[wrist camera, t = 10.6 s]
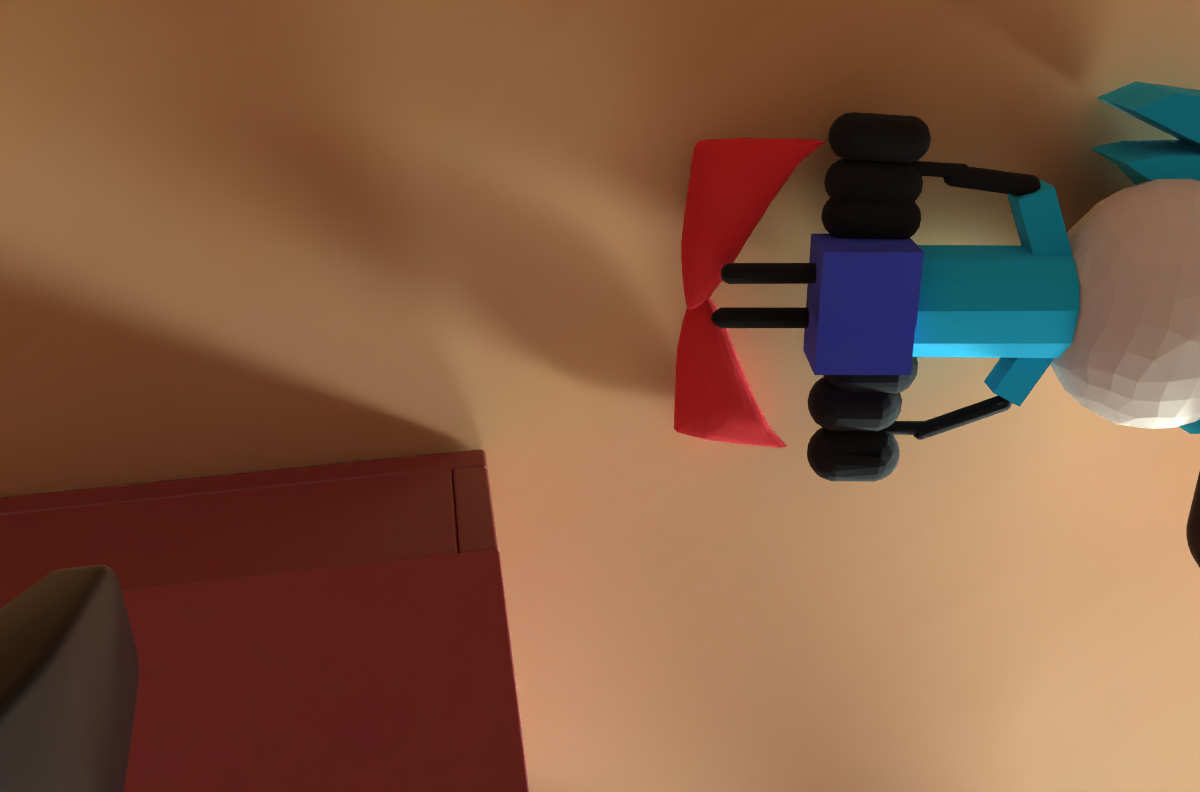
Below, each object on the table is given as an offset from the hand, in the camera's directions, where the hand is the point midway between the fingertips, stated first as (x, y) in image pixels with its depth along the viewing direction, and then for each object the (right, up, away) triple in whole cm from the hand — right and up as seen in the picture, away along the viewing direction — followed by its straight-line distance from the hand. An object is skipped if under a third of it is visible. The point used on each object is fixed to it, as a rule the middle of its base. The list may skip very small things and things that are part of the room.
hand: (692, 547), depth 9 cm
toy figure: (+8, +4, +14) cm, 17 cm away
